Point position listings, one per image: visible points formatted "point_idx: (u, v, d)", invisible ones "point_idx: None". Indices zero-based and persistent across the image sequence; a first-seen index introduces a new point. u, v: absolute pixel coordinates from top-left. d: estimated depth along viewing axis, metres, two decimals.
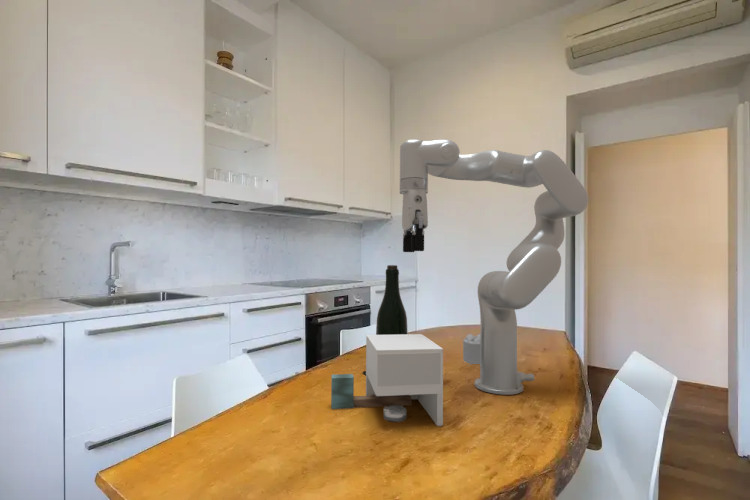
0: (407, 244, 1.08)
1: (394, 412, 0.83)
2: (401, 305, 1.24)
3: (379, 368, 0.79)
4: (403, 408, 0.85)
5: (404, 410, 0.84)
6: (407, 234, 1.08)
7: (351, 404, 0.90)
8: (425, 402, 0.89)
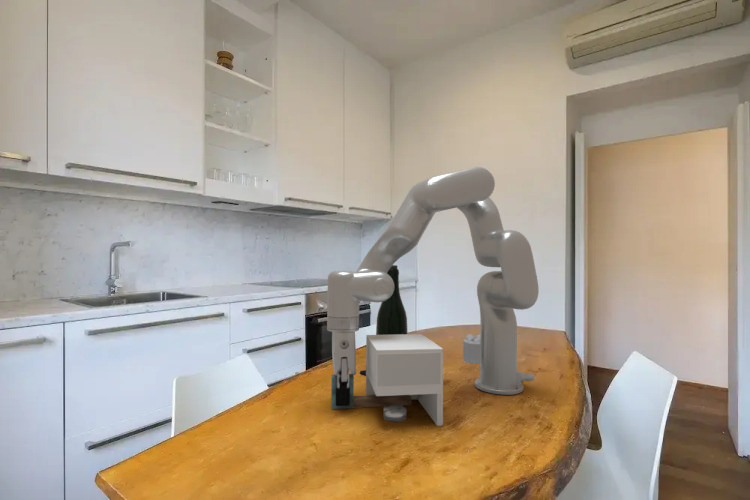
0: None
1: (395, 411, 0.83)
2: (401, 305, 1.24)
3: (379, 368, 0.79)
4: (402, 407, 0.86)
5: (404, 409, 0.84)
6: None
7: (351, 404, 0.90)
8: (425, 402, 0.89)
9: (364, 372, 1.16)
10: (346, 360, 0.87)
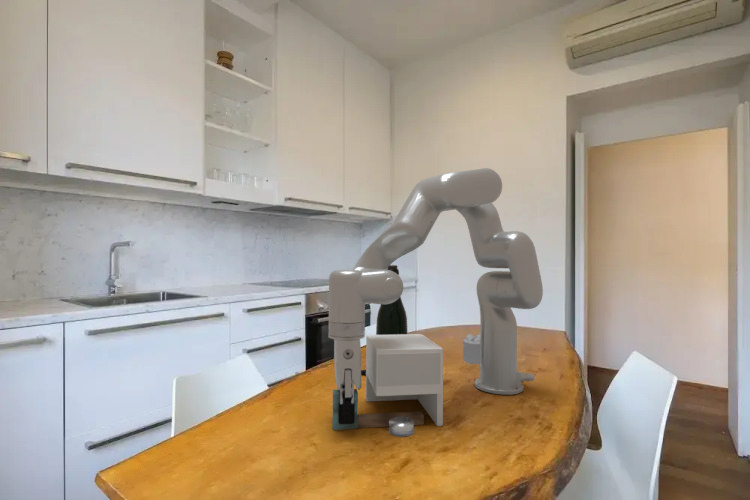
0: None
1: (403, 425, 0.76)
2: (401, 305, 1.24)
3: (379, 368, 0.79)
4: (408, 419, 0.79)
5: (412, 421, 0.78)
6: None
7: (355, 424, 0.79)
8: (425, 402, 0.89)
9: (362, 372, 1.16)
10: (350, 372, 0.76)
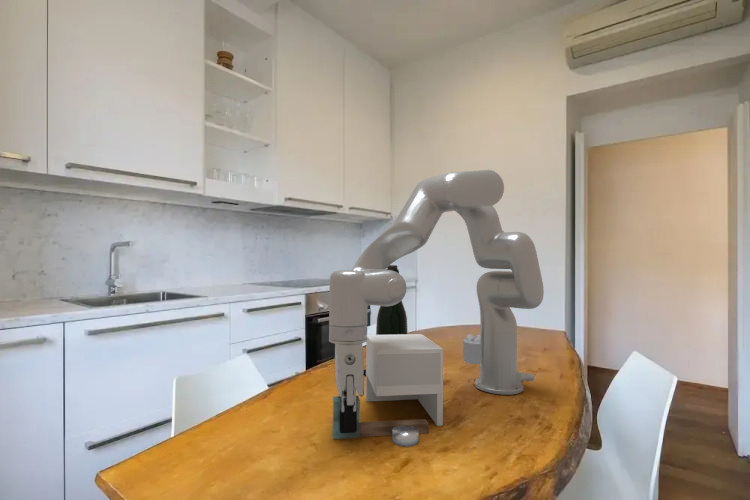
0: None
1: (408, 435, 0.72)
2: (401, 305, 1.24)
3: (379, 368, 0.79)
4: (413, 428, 0.75)
5: (416, 431, 0.74)
6: None
7: (357, 433, 0.74)
8: (425, 402, 0.89)
9: None
10: (352, 378, 0.72)
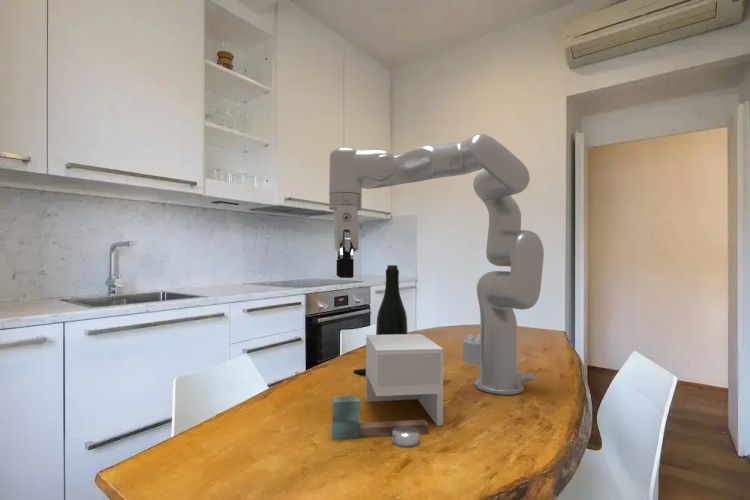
0: None
1: (408, 435, 0.72)
2: (401, 305, 1.24)
3: (379, 368, 0.79)
4: (413, 428, 0.75)
5: (417, 431, 0.73)
6: None
7: (356, 433, 0.74)
8: (425, 402, 0.89)
9: (358, 371, 1.17)
10: None
